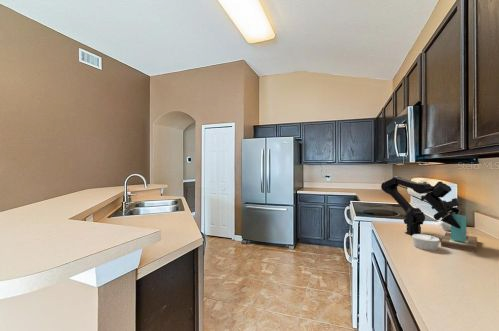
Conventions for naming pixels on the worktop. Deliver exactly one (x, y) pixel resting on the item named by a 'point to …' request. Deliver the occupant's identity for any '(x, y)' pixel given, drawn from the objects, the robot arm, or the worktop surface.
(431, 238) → the ramekin
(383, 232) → the worktop surface
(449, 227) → the die
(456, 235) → the teal block
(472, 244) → the puzzle board
